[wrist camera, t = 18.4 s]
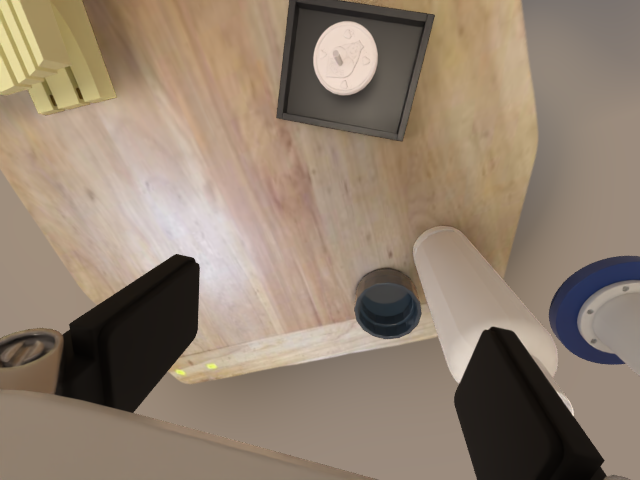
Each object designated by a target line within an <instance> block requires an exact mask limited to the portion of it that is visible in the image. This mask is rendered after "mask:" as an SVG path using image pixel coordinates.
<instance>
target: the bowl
mask: <svg viewBox="0 0 640 480" xmlns="http://www.w3.org/2000/svg"><path fill="white" fill-rule="evenodd" d="M354 311H355V316H356V320H357V322H358V323H359V324H360V326H361V327H362V329H363V330H365V331H366V332H368V333H369V334H371V335H372V336H375V337H379V338H383V339H393V338H400V337H402V336H404V335H406V334H409V333H410V332H411V331H412V330H413V329H414V328H415V327H416V326H417V325H418V323H419V320H420V317H421V314H422V313H421V306H420V301H419V297H418V294H417V290H416V287H415V285H414V284H413V282H412V281H411V279H410V278H409V277H407V276H406V275H404V274H403V273H401V272H400V271H396V270H391V269H381V270H375V271H373V272H371V273H369V274H368V275H366V276H364V278H363V279H362V280H361V281H360V283H359V284H358V287H357V291H356V296H355V307H354Z"/></svg>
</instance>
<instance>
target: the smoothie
mask: <svg viewBox="0 0 640 480" xmlns="http://www.w3.org/2000/svg"><path fill="white" fill-rule="evenodd" d="M313 63H314V69H315V73H316V75H317V77H318V79H319V81H320V83H321V84H322V85H323V86H324V87H325V88H326V89H327V90H329V91H330V92H332V93H334V94H338V95H351V94H354V93H357V92H359V91H360V90H362V89H363V88H365V87H366V85H367V84H368V83H369V82H370V81H371V79H372V77H373V75H374V74H375V71H376V67H377V63H378V52H377V48H376V44H375V41H374V39H373V37H372V35H371V34H370V32H369V31H368V30H367V29H366V28H365V27H363V26H362V25H360V24H358V23H355V22H351V21H343V22H339V23H336V24H334V25H332V26H330V27H329V28H328V29H326V30H325V31H324V32H323V34H322V35H321V36H320V38H319V40H318V42H317V44H316V46H315V50H314V56H313Z"/></svg>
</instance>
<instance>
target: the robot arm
mask: <svg viewBox="0 0 640 480" xmlns="http://www.w3.org/2000/svg"><path fill="white" fill-rule="evenodd" d="M199 271H200V267H199V264H198V263H196V262H195V259H194V258H192V257H187V256H183V255H179V254H176V255H174V256H172V257H170V258H169V259H167V260H166V261H164V262H163V263H161V264H160V265H158V266H157V267H155V268H154V269H152V270H151V271H149V272H148V273H146V274H145V275H143V276H142V277H140V278H138V279H137V280H135V281H134V282H132V283H131V284H129V285H128V286H126V287H125V288H123V289H122V290H120V291H119V292H117V293H116V294H114V295H113V296H111V297H110V298H108V299H106V300H105V301H103V302H102V303H100V304H99V305H97V306H96V307H94V308H93V309H91V310H90V311H88V312H87V313H85V314H84V315H82V316H81V317H79V318H78V319H76V320H74V321H73V322H72V323H70V324H69V326H70V330H69V331H67V332H66V333H64V334H63V335H62V334H61V333H60V332H58V331H56V330H53V329H44V328H37V329H28V330H24V331H19V332H15V333H12V334H9V335H7V336H4V337H2V338H0V480H377V479H373V478H370V477H366V476H363V475H359V474H356V473H352V472H348V471H345V470H341V469H337V468H334V467H330V466H327V465H323V464H319V463H316V462H312V461H308V460H305V459H301V458H298V457H294V456H291V455H287V454H283V453H279V452H276V451H272V450H269V449H265V448H261V447H258V446H254V445H250V444H247V443H243V442H240V441H236V440H232V439H228V438H224V437H221V436H217V435H214V434H210V433H206V432H202V431H198V430H195V429H191V428H188V427H184V426H180V425H176V424H173V423H169V422H165V421H162V420H158V419H154V418H150V417H146V416H142V415H139V414H135V413H133V412H134V411H135V410H136V409H137V408H138V406H139V405H140V404H141V403H142V401H143V400H144V399H145V398H146V397H147V395H148V394H149V393H150V392H151V391H152V389H153V388H154V387H155V386H156V384H157V383H158V382H159V381H160V380H161V379H162V377H163V376H164V375H165V374H166V372H167V371H168V370H169V369H170V368H171V366H172V365H173V364H174V363H175V362H176V360H177V359H178V358H179V357H180V356H181V354H182V353H183V352H184V351H185V350H186V348H187V347H188V346H189V345H190V344H191V342H192V341H193V340H194V338H195V336H196V334H197V330H198V304H199ZM577 325H578V330H579V332H580V334H581V336H582V337H583V338H584V339H585V340H586V341H587V342H588V343H589V344H590V345H591V346H593V347H594V348H596V349H598V350H601V351H603V352H607V353H613V354H616V355H617V356H618V357H619V358H620V359H621V360H622V361H624V362H625V363H626V364H627V365H628V366H629V367H630V368H631V369H632V370H633V371H634V372H635V373H636V374H638V375H639V376H640V280H628V281H621V282H617V283H613V284H611V285H608V286H605V287H603V288H602V289H600V290H598V291H597V292H595V293H594V294H593V295H591V296H590V297H589V298H588V299H587V300H586V301H585V302H584V304H583V306H582V307H581V309H580V311H579V314H578V318H577ZM454 403H455V408H456V411H457V414H458V418H459V421H460V424H461V428H462V431H463V434H464V437H465V441H466V444H467V447H468V451H469V454H470V457H471V461H472V464H473V467H474V471H475V474H476V477H477V480H630V479H628V478H625V477H622V476H616V475H612V476H606V474H605V473H604V471H603V470H602V468H601V467H600V466H601V465H602V463H603V462H604V459H603V458H602V456H601V455H600V453H599V452H598V451H597V449H596V448H595V446H594V445H593V444H592V442H591V441H590V439H589V438H588V436H587V435H586V434H585V432H584V431H583V429H582V428H581V426H580V425H579V424H578V422H577V421H576V419H575V418H574V416H573V415H572V414H571V412H570V411H569V409H568V408H567V406H566V405H565V404H564V402H563V401H562V399H561V398H560V396H559V395H558V394H557V392H556V391H555V389H554V388H553V386H552V385H551V384H550V382H549V381H548V379H547V378H546V376H545V375H544V374H543V372H542V371H541V369H540V368H539V366H538V365H537V364H536V362H535V361H534V359H533V358H532V356H531V355H530V354H529V352H528V351H527V349H526V348H525V346H524V345H523V344H522V342H521V341H520V339H519V338H518V336H517V335H516V334H515V332H514V331H511V330H507V329H503V328H498V327H494V326H493V327H490V328H489V330H484V331H483V332H482V334H481V336H480V338H479V340H478V343H477V345H476V347H475V349H474V352H473V354H472V356H471V358H470V361H469V363H468V365H467V368H466V370H465V372H464V374H463V377H462V379H461V381H460V383H459V386H458V388H457V390H456V393H455V397H454Z"/></svg>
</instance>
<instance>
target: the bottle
mask: <svg viewBox="0 0 640 480" xmlns="http://www.w3.org/2000/svg"><path fill="white" fill-rule="evenodd" d="M413 259H414V262H415V265H416V269H417V272H418V275H419V278H420V281H421V284H422V287H423V290H424V294H425V297H426V300H427V303H428V306H429V309H430V312H431V315H432V318H433V322H434V325H435V328H436V331H437V334H438V337H439V340H440V343H441V347H442V349H443V353H444V356H445V359H446V362H447V365H448V368H449V370H450V372H451V374H452V376H453V377H454V379H455V380H456V381H457V382H458V383H460V381H461V379H462V377H463V374H464V372H465V370H466V368H467V365H468V363H469V361H470V358H471V356H472V354H473V352H474V349H475V347H476V345H477V343H478V340H479V338H480V336H481V334H482V332H483V331H484V330H489V328H490V327H493V326H494V327H498V328H503V329H507V330H511V331H514V332H515V334H516V335H517V336H518V338H519V339H520V341H521V342H522V344H523V345H524V346H525V348H526V349H527V351H528V352H529V354H530V355H531V356H532V358H533V359H534V361H535V362H536V364H537V365H538V366H539V368H540V369H541V371H542V372H543V374H544V375H545V376H546V378H547V379H548V381H549V382H550V384H551V385H552V386H553V388H554V389H555V391H556V392H557V394H558V395H559V396H560V398H561V399H562V401H563V402H564V404H565V405H566V406H567V408H568V409H569V411H570V412H571V414H572V415H573V416H574V409H573V407H572V405H571V403H570V401H569V399H568V398H567V397H566V395H565V394H564V392H563V391H562V390H561V388H560V387H559V385H558V384H557V383H556V381H555V380H554V379H553V377H554V375H555V373H556V370H557V368H558V352H557V347H556V345H555V343H554V340H553V338H552V336H551V335H550V333H549V332H548V331H547V330H546V329H545V328H544V326H543V325H542V324H541V323H540V322H539V321H538V320H537V318H536V317H535V316H534V315H533V314H532V313H531V311H530V310H529V309H528V308H527V307H526V306H525V304H524V303H523V302H522V301H521V300H520V299H519V298H518V296H517V295H516V294H515V293H514V292H513V291H512V289H511V288H510V287H509V286H508V285H507V283H505V281H504V280H503V279H502V278H501V277H500V275H499V274H498V273H497V272H496V271H495V270H494V268H493V267H492V266H491V265H490V264H489V263H488V261H487V260H486V259H485V258H484V257H483V256H482V254H481V253H480V252H479V251H478V250H477V249H476V248H475V246H474V245H473V244H472V243H471V242H470V241H469V239H468V238H467V237H466V236H465V235H464V234H463V233H462V232H461V231H460V230H458V229H455V228H453V227H449V226H438V227H433V228H431V229H429V230H426V231H425V232H424V233H422V234H421V235H420V236H419V237H418V239H417V240H416V242H415V244H414V247H413Z"/></svg>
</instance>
